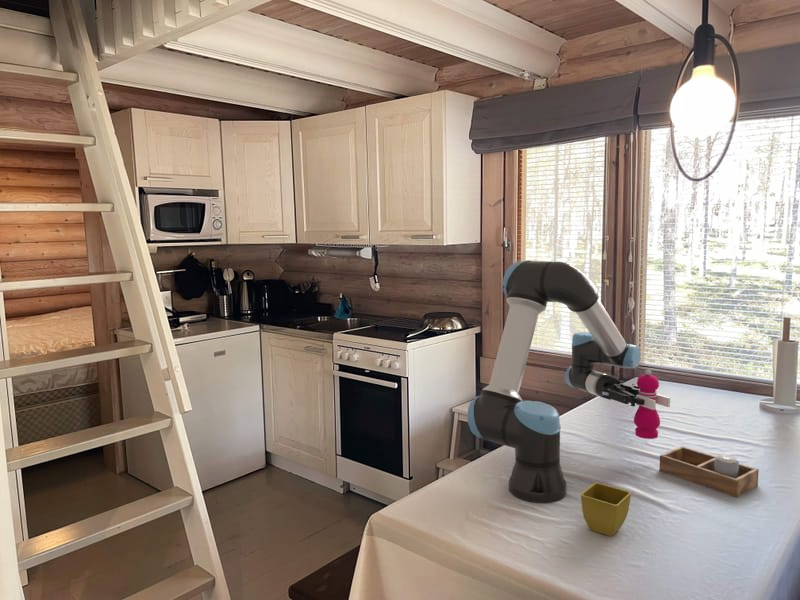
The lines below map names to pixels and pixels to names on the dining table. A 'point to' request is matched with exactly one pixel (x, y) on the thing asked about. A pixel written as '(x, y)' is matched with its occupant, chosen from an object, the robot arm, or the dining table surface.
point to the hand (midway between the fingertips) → (661, 403)
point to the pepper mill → (644, 416)
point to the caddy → (707, 471)
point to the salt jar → (727, 466)
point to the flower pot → (605, 508)
